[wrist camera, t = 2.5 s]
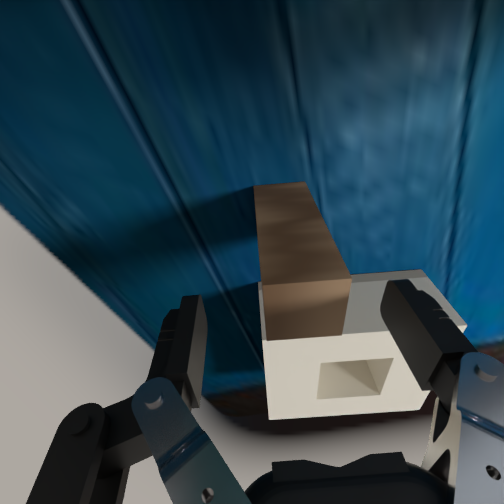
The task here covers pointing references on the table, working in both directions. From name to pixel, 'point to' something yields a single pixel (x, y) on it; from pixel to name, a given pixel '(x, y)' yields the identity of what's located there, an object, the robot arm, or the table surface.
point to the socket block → (347, 359)
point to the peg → (298, 265)
